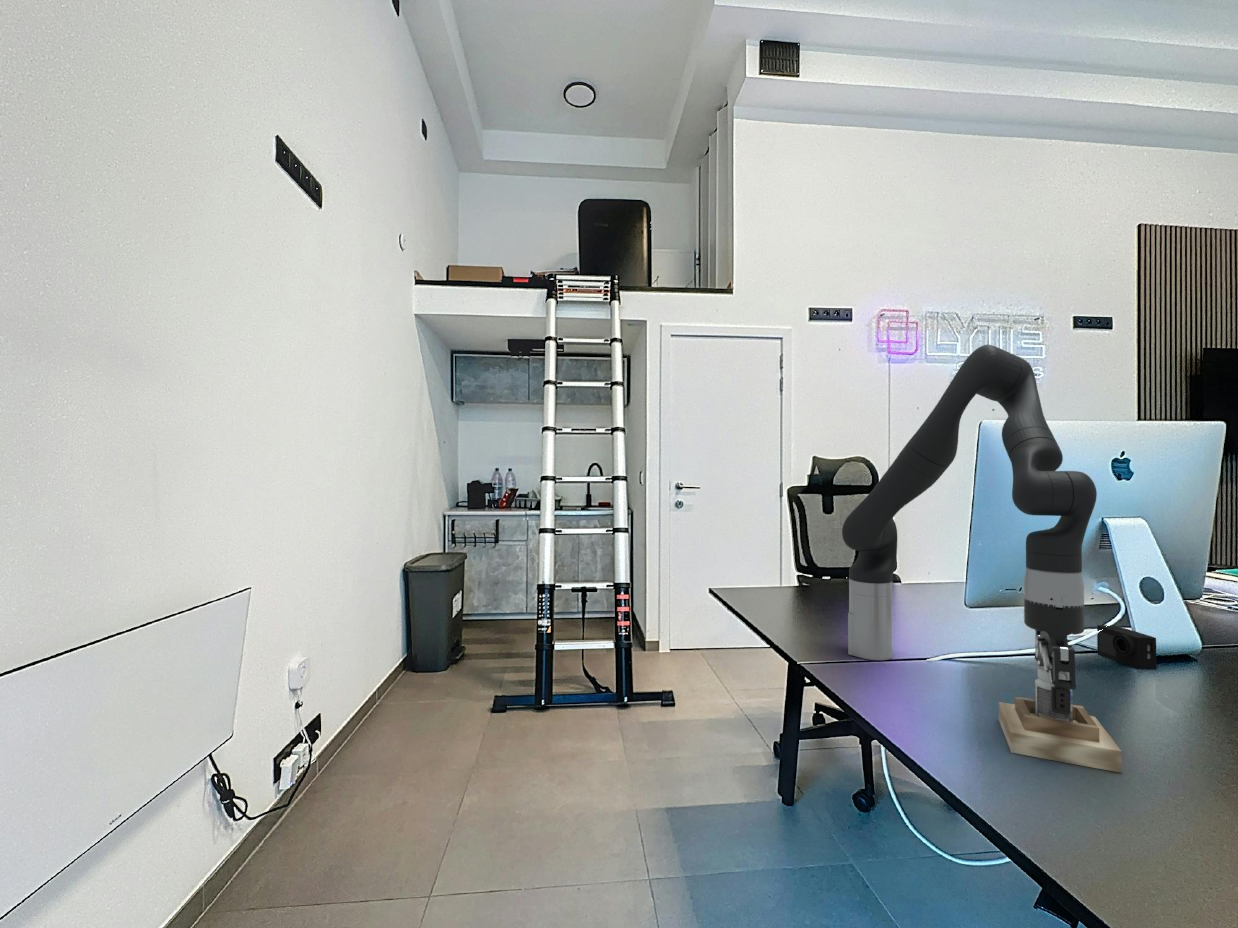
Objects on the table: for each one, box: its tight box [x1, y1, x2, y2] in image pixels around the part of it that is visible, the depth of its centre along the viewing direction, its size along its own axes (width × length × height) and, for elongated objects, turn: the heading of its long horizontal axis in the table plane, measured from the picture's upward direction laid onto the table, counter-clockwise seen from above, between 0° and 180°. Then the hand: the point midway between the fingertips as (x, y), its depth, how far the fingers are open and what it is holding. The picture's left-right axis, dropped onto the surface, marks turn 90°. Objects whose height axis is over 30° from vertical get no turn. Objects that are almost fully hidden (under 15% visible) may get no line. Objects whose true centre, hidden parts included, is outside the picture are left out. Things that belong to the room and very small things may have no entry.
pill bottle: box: [1034, 666, 1074, 722], centre depth 90 cm, size 5×5×8 cm
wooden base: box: [998, 696, 1123, 774], centre depth 90 cm, size 13×13×5 cm
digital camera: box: [1096, 624, 1157, 670], centre depth 130 cm, size 10×5×7 cm, turn 1°
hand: (1054, 702), depth 90 cm, fingers open, 8 cm apart
